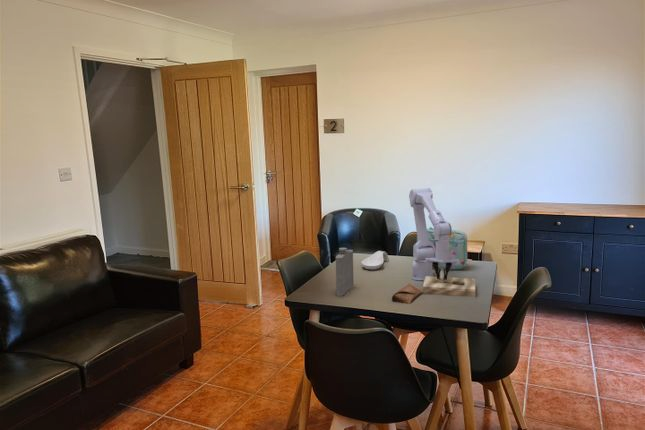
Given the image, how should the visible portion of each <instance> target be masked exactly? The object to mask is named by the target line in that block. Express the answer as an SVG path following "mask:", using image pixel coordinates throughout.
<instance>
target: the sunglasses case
mask: <svg viewBox="0 0 645 430" xmlns="http://www.w3.org/2000/svg"><path fill="white" fill-rule="evenodd" d="M421 295H423V290H421V289H419V288H417V287H415V286H413V285H412V284H411V283H408V284H407V285H405V286H403V287H402V288H401V289H400V290H398V291H396V292H395V293H394V294H392V297H391V301H392V302H393V303H397V304H399V303H400V304H404V303H405V305H412V302H414V301H415V300H416V299H418V298H419V297H420V296H421Z"/></svg>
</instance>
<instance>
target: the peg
mask: <svg viewBox="0 0 645 430" xmlns="http://www.w3.org/2000/svg"><path fill="white" fill-rule="evenodd" d="M438 272H439V280H440V281H441V283H443V281H444V280H445V275H446V269H445V268H439V269H438Z"/></svg>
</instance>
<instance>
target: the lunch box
mask: <svg viewBox="0 0 645 430" xmlns="http://www.w3.org/2000/svg"><path fill="white" fill-rule="evenodd" d="M433 229H434V227H433V226H430V227H429V228H427V234H428V240H429V241H430V242H432V243H433V244H434V248H435V250H436V239H435V238H434V232H433ZM417 242H418V238H417V237H416V243H417ZM419 248H424V247H419ZM435 258H436V257H435ZM449 258H452V259H459V264H452V266H451V268H450V270H449V271H451V270H452V271H453V270H462V269H463V268H464V267H465V266H466V265H467V262H468V236H467V234H466V232H464V231H462V230H456V229H452V232H451V234H450V235H449ZM439 268H445V270H446V263H439V264H438V270H439ZM433 269H434V268H433V263H432V270H433Z"/></svg>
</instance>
